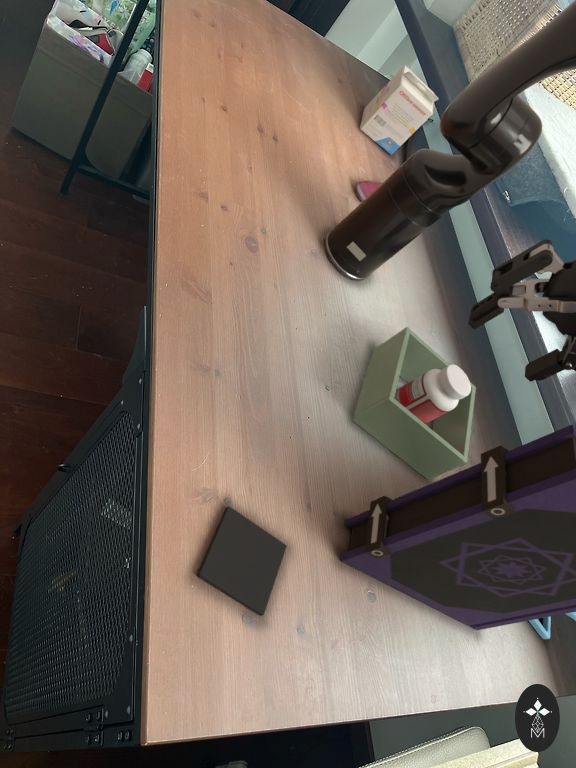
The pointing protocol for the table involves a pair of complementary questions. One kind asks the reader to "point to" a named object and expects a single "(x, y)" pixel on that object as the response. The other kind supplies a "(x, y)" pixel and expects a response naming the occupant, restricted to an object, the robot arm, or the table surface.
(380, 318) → the table surface
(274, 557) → the mat
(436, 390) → the pill bottle
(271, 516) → the table surface
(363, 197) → the eraser
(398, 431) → the green open box
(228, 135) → the table surface
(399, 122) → the ink box
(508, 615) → the book
